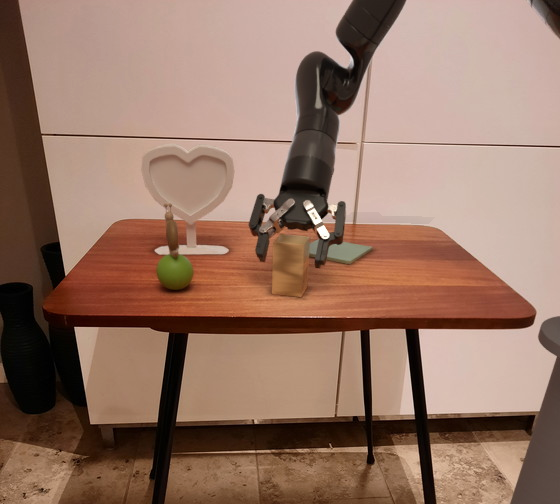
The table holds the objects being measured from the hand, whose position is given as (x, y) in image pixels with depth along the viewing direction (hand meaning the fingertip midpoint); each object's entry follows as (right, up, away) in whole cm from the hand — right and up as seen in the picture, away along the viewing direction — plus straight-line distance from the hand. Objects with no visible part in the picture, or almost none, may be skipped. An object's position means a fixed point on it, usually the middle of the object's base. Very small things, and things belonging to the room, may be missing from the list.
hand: (289, 262), depth 81 cm
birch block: (0, -4, +3) cm, 5 cm away
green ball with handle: (-17, -3, +3) cm, 18 cm away
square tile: (+9, +7, +22) cm, 25 cm away
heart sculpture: (-18, +6, +20) cm, 27 cm away
